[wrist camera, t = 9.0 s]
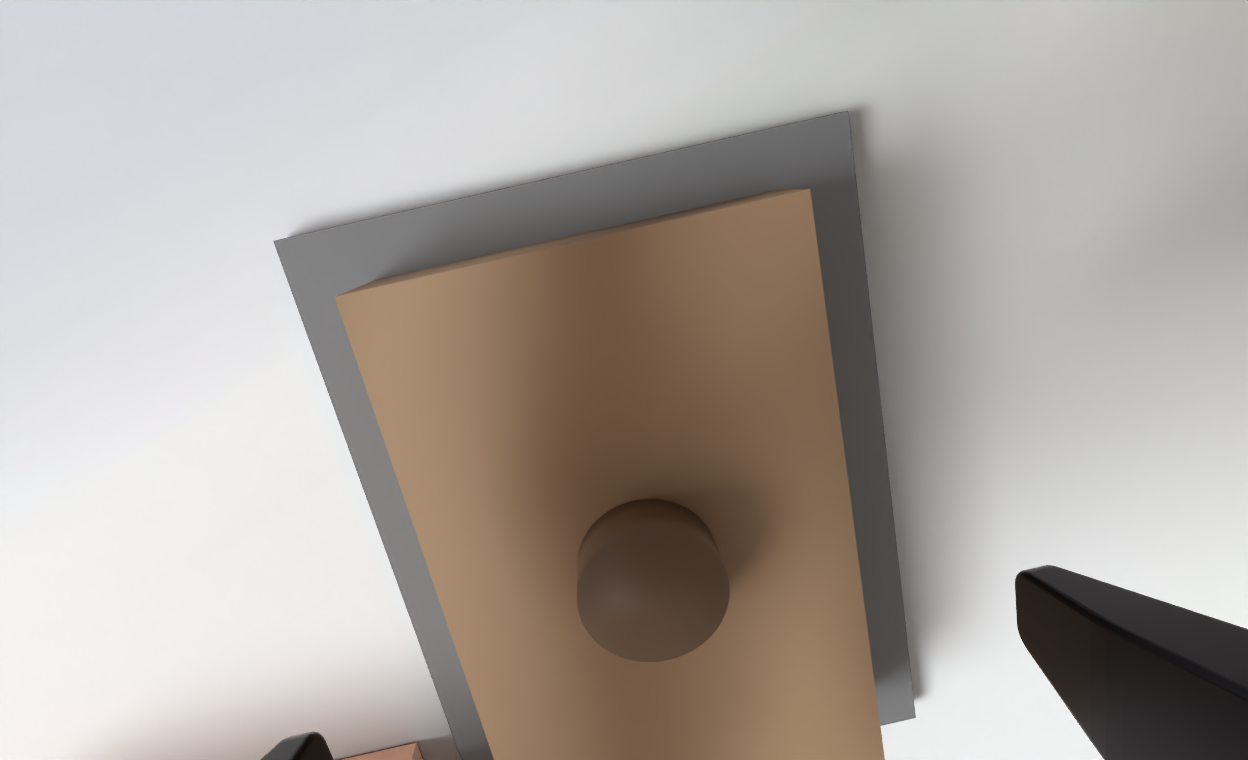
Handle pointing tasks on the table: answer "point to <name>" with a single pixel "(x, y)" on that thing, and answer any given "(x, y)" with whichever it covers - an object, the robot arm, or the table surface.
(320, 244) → the mat
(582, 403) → the lid
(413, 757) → the dish
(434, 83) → the table surface
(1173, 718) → the robot arm
